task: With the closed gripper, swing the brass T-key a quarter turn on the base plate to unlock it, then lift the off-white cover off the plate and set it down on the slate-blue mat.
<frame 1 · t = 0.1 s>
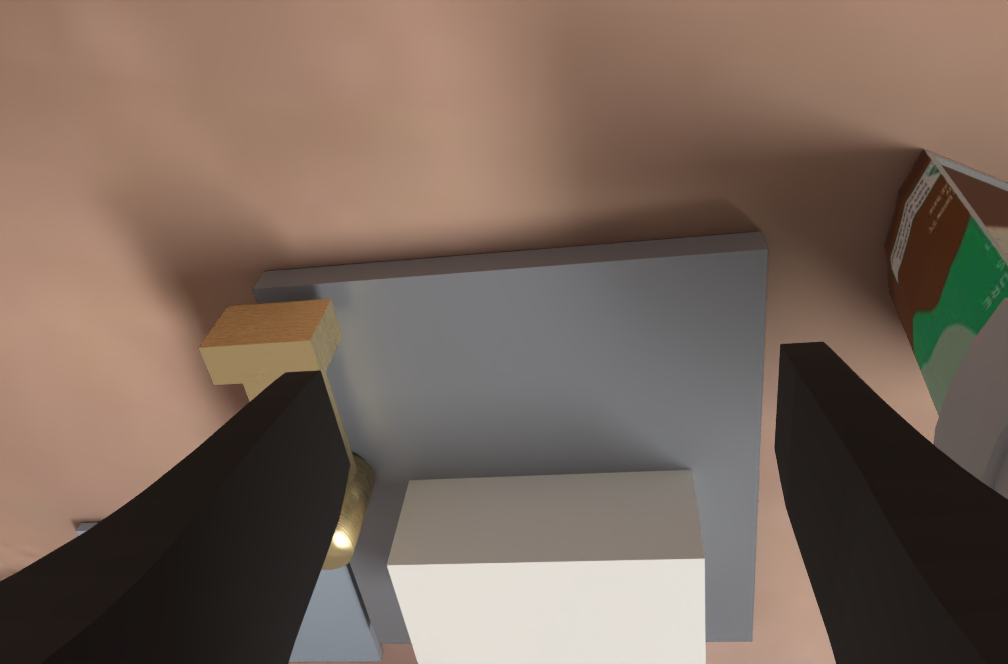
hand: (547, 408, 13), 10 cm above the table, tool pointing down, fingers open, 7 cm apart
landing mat: (238, 590, 32), on the table
food container: (1001, 305, 23), on the table
snap cover: (555, 530, 27), point 1 cm above the table, touching base plate
brass T-key: (307, 436, 24), point 3 cm above the table, hinge at 0.0°
base plate: (535, 465, 27), on the table
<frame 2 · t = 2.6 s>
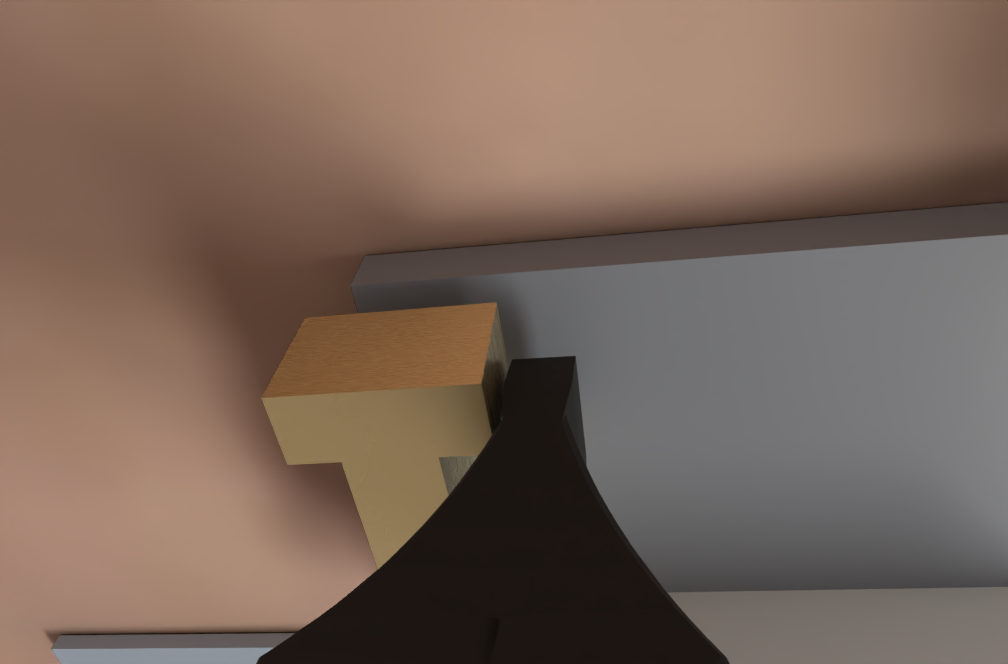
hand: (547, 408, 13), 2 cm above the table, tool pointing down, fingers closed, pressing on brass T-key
brass T-key: (438, 542, 14), point 3 cm above the table, hinge at 0.6°, touching gripper
base plate: (775, 567, 17), on the table
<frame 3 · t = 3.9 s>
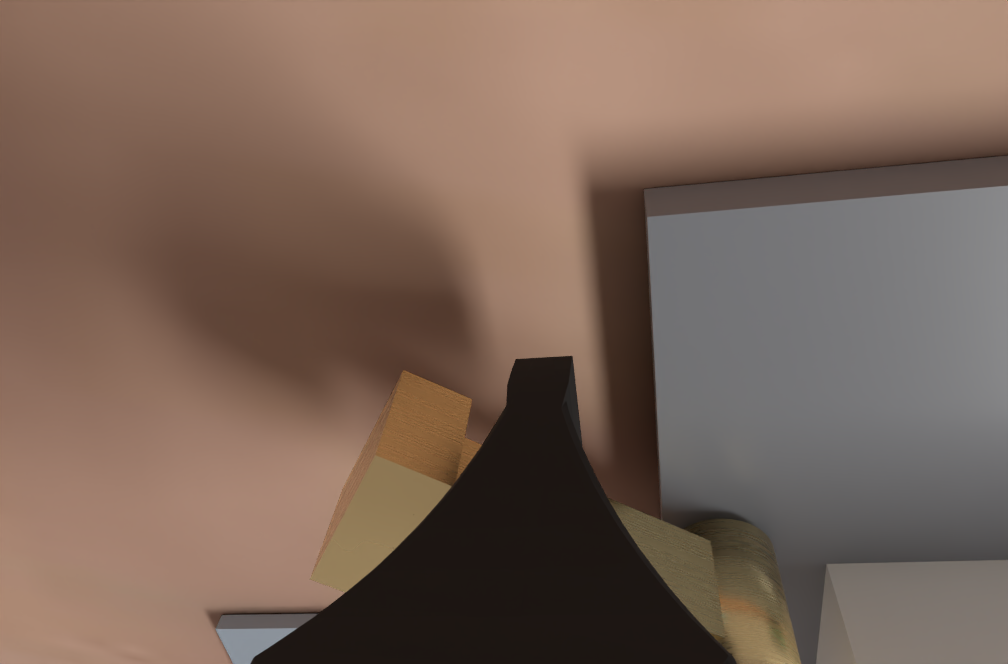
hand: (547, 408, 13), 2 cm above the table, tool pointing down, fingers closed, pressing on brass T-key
brass T-key: (578, 563, 14), point 3 cm above the table, hinge at 56.7°, touching gripper
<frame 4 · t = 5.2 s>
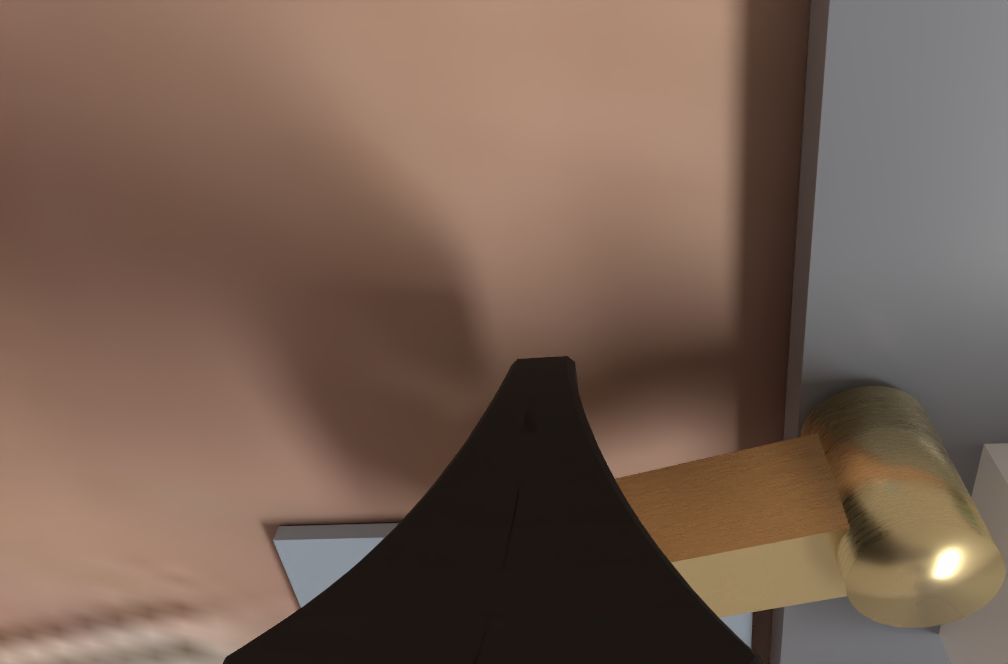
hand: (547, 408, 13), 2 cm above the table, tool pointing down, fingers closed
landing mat: (528, 640, 19), on the table
brass T-key: (695, 538, 13), point 3 cm above the table, hinge at 104.4°, touching gripper
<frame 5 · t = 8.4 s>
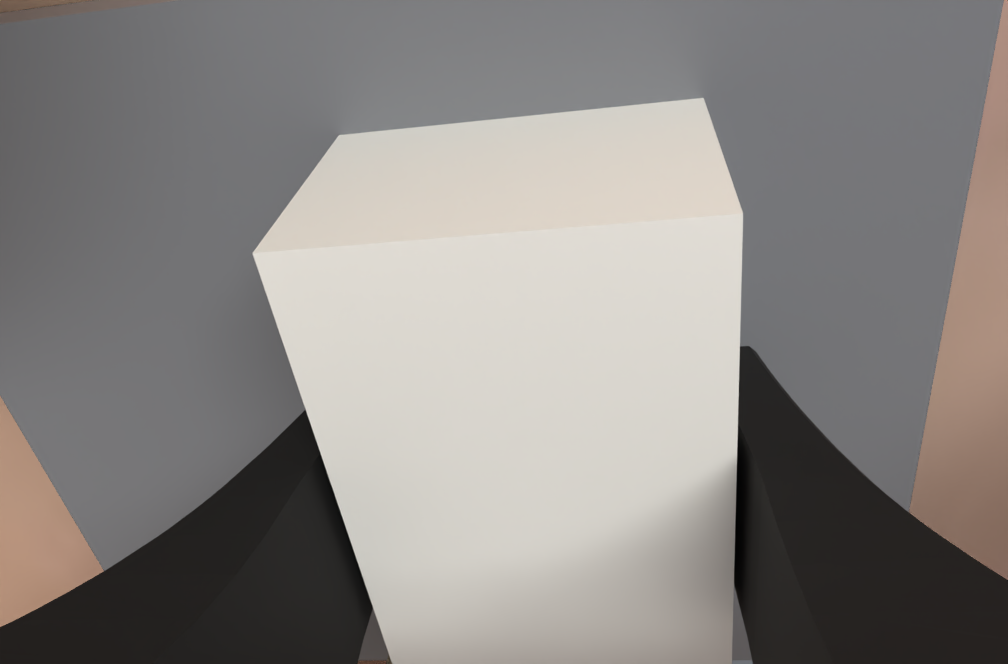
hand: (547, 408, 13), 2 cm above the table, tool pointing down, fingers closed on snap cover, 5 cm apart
snap cover: (549, 381, 14), point 1 cm above the table, touching base plate, gripper
base plate: (446, 376, 15), on the table
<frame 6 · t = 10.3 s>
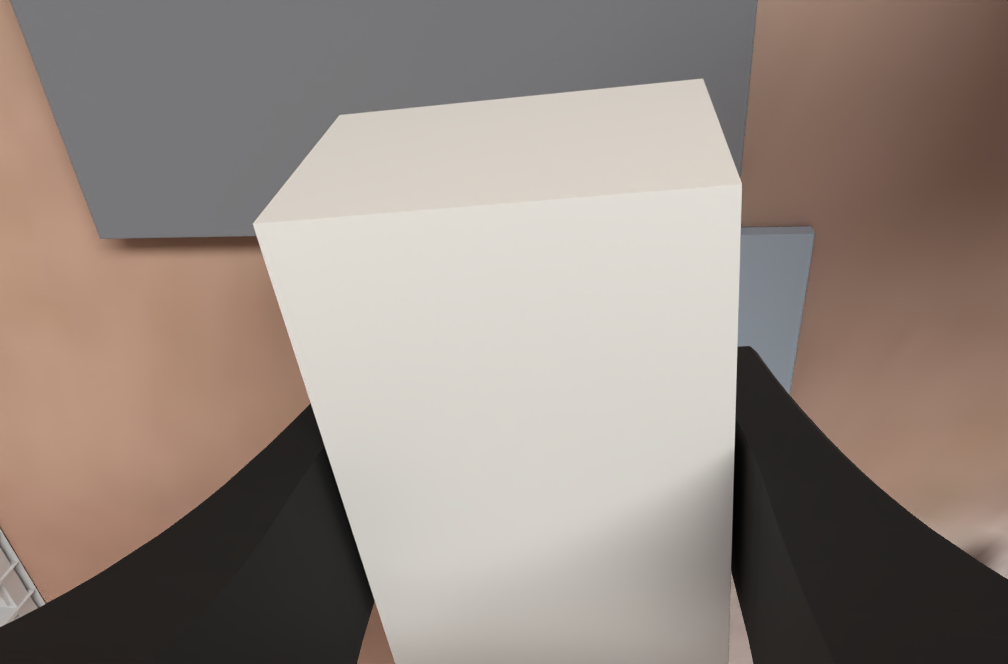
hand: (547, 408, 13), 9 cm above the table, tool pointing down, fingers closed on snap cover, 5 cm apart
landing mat: (641, 386, 23), on the table
snap cover: (548, 365, 14), point 8 cm above the table, touching gripper
when the fingers open (2 cm above the table, at t = 12.5 s): snap cover stays where it is, resting on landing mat.
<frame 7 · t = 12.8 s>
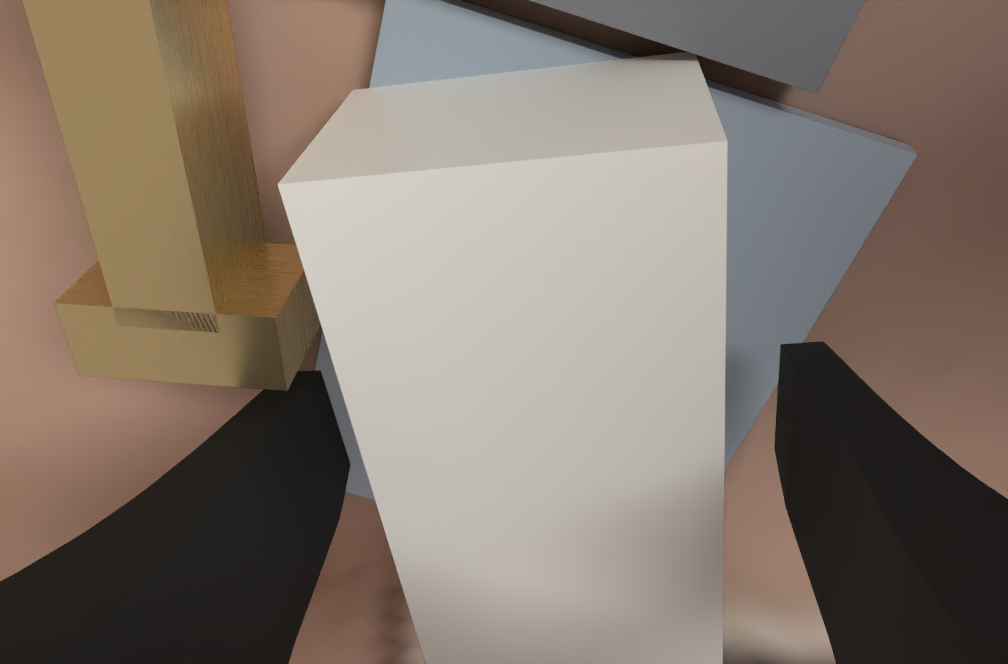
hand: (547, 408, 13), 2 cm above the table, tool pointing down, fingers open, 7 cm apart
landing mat: (553, 331, 15), on the table
snap cover: (551, 329, 14), resting on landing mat
brass T-key: (151, 77, 10), point 3 cm above the table, hinge at 105.0°
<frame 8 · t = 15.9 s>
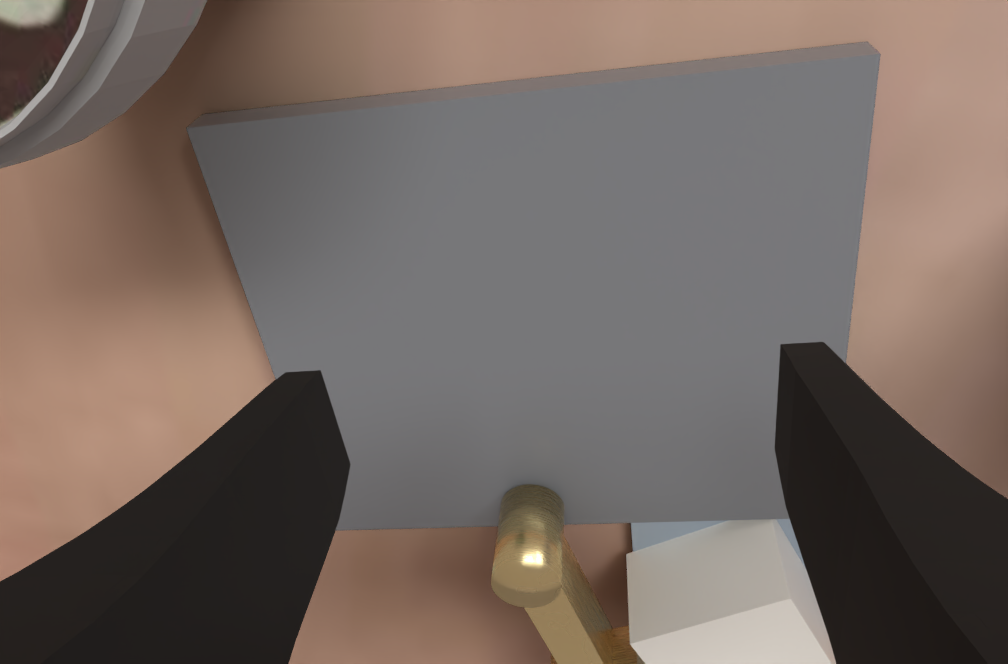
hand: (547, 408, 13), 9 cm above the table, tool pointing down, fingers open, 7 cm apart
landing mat: (750, 607, 29), on the table
snap cover: (749, 612, 29), resting on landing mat
brass T-key: (563, 606, 26), point 3 cm above the table, hinge at 105.0°
base plate: (545, 325, 23), on the table
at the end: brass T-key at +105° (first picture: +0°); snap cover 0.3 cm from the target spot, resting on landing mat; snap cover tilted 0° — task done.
